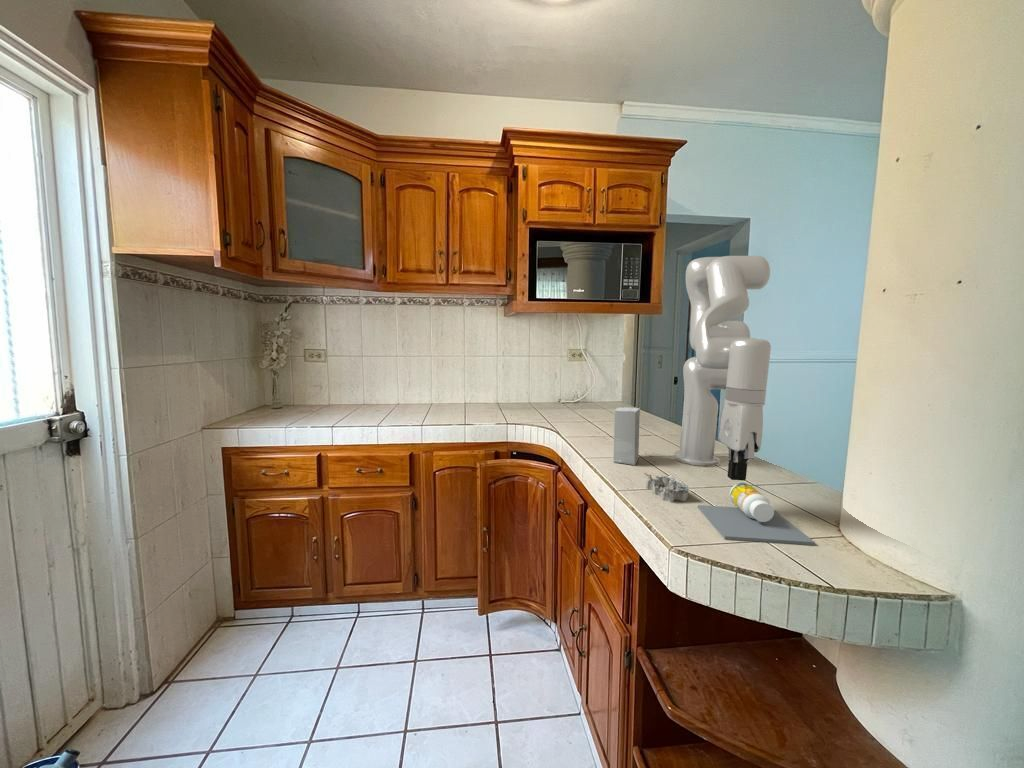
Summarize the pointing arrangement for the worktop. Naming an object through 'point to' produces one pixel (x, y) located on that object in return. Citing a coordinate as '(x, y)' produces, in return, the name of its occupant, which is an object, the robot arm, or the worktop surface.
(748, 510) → the supplement bottle
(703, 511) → the mat
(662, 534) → the worktop surface
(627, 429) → the skincare box
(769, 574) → the worktop surface
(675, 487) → the egg carton
